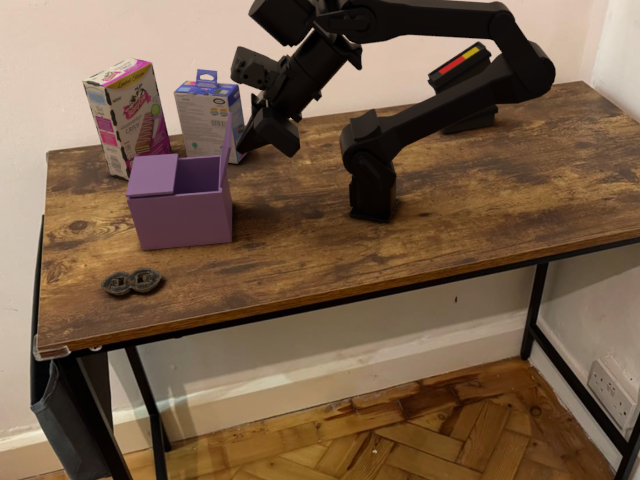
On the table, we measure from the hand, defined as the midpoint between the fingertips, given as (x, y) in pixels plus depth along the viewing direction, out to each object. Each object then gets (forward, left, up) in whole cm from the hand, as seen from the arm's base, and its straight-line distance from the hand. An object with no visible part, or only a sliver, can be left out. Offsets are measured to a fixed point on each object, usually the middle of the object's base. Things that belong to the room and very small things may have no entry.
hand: (238, 151), depth 95 cm
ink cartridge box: (+14, -17, -12) cm, 26 cm away
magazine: (-25, -40, -12) cm, 49 cm away
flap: (+2, +1, +1) cm, 2 cm away
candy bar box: (+25, -10, -12) cm, 30 cm away
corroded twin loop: (+8, +20, -12) cm, 24 cm away
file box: (+8, +4, -12) cm, 15 cm away
